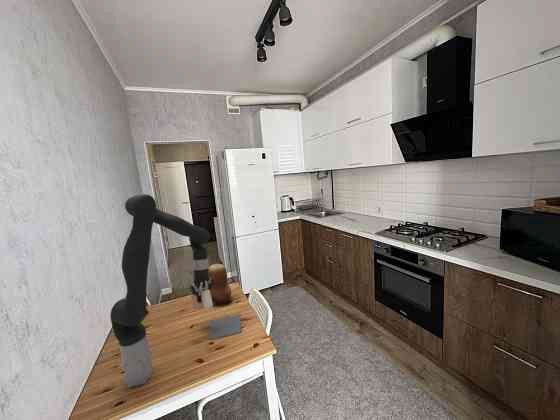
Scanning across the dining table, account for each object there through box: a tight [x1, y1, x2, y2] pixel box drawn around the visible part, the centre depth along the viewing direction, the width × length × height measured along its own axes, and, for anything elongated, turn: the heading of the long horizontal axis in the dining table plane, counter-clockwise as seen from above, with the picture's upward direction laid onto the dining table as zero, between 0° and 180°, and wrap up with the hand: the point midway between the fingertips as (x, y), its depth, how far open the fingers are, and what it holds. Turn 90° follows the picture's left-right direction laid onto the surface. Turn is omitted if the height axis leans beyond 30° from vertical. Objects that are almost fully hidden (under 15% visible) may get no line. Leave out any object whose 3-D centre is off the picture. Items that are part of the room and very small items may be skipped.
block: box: [190, 290, 213, 311], centre depth 117 cm, size 3×8×14 cm
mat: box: [208, 313, 243, 341], centre depth 120 cm, size 16×16×1 cm
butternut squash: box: [209, 263, 232, 305], centre depth 144 cm, size 14×13×25 cm
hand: (202, 301), depth 116 cm, fingers closed on block, 3 cm apart
